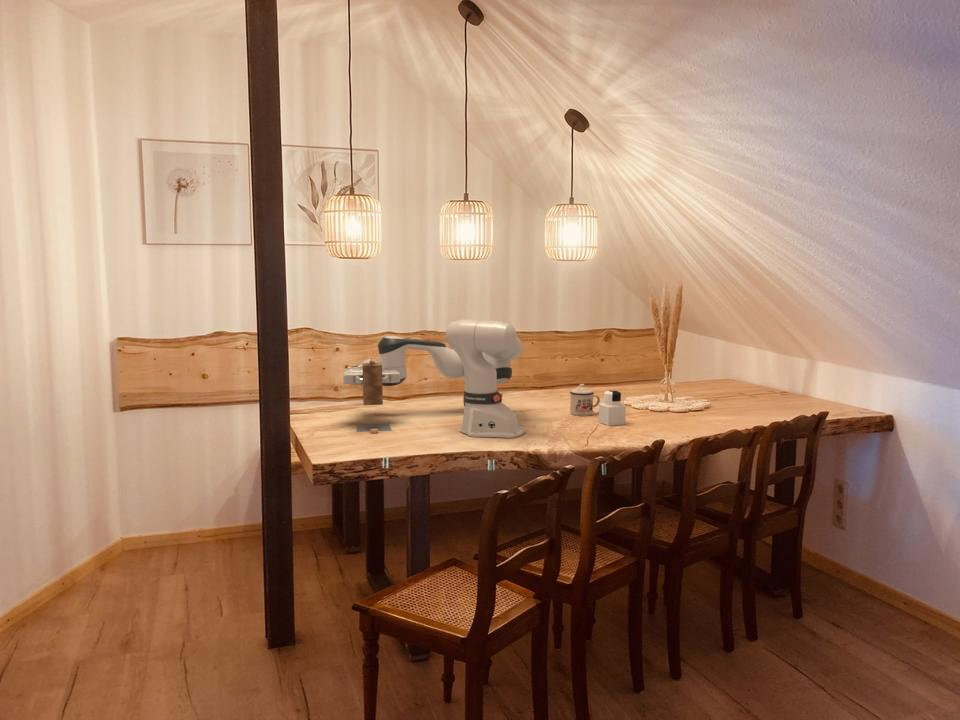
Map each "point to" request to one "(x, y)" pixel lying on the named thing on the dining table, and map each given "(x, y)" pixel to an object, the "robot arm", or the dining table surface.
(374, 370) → the brown cylindrical container
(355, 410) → the dining table surface
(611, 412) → the medicine bottle
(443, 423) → the dining table surface
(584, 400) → the teacup with lid
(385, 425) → the mat
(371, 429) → the bowl
